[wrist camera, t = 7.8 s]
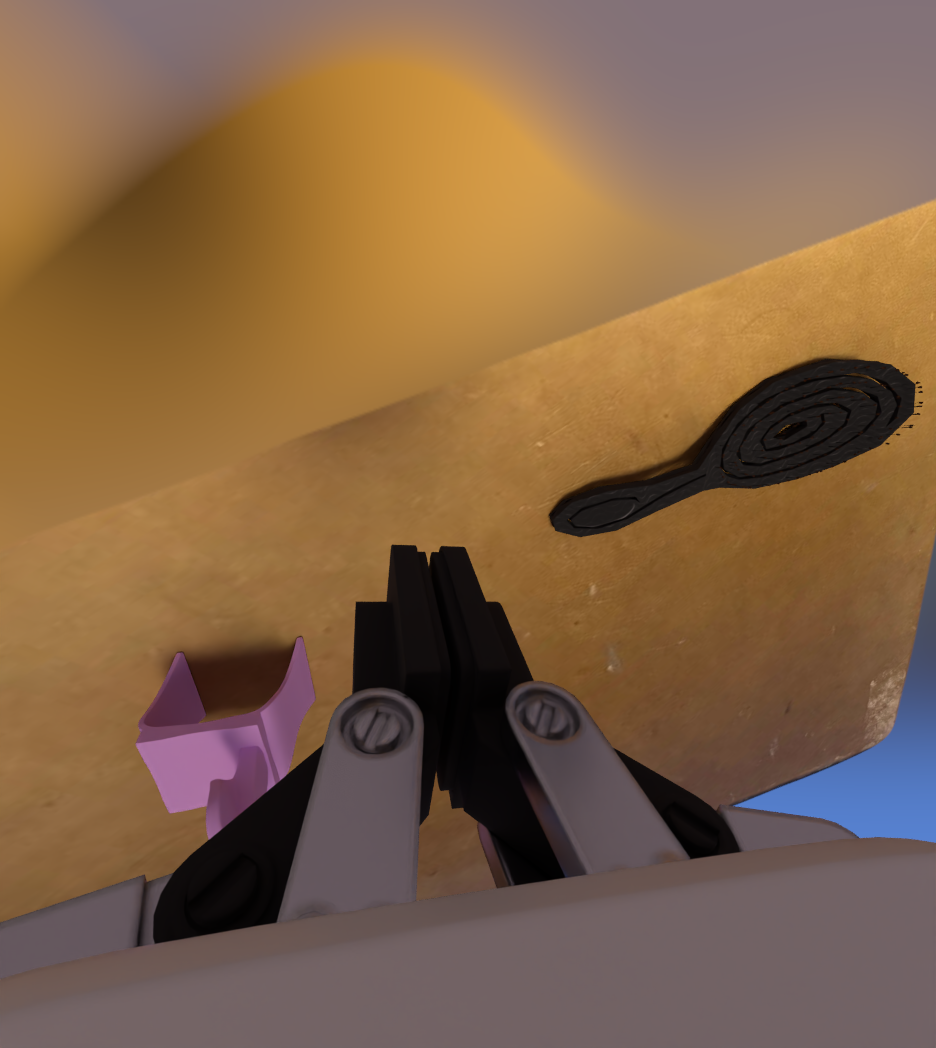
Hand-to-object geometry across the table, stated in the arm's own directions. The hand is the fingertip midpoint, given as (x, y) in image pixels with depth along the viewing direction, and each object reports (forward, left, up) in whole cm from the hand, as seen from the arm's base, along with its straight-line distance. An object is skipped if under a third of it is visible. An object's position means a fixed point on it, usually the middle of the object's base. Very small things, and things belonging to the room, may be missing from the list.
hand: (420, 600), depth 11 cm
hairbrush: (0, +23, -19) cm, 30 cm away
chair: (+21, -8, -19) cm, 30 cm away
